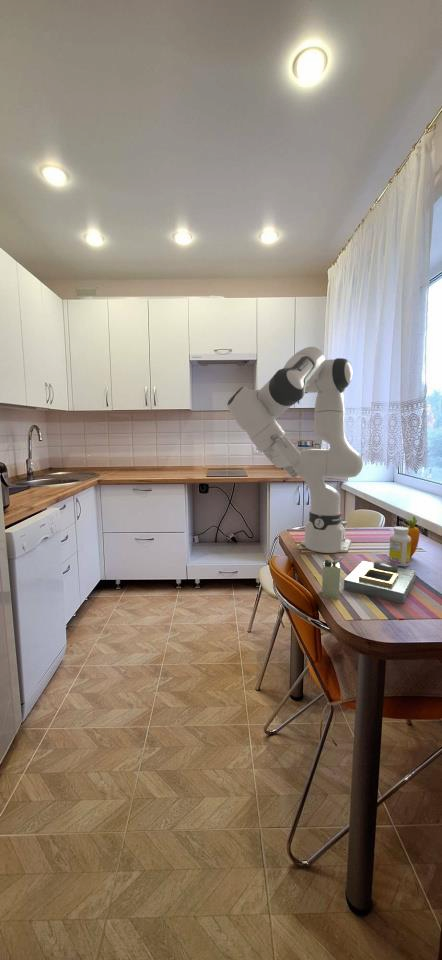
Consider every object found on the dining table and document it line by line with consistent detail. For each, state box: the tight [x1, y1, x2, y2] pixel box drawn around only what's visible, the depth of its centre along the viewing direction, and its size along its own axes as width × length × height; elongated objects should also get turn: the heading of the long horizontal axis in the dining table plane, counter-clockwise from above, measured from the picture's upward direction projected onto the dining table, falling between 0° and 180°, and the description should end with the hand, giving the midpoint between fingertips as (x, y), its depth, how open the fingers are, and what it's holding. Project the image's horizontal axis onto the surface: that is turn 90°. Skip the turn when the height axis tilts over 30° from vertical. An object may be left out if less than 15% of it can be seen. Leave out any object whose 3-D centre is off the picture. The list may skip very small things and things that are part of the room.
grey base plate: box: [343, 560, 417, 604], centre depth 116 cm, size 22×16×4 cm
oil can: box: [321, 555, 343, 600], centre depth 107 cm, size 4×5×12 cm
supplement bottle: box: [388, 526, 411, 567], centre depth 133 cm, size 7×7×13 cm
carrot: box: [405, 516, 421, 558], centre depth 139 cm, size 5×5×15 cm
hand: (299, 476), depth 108 cm, fingers open, 8 cm apart
